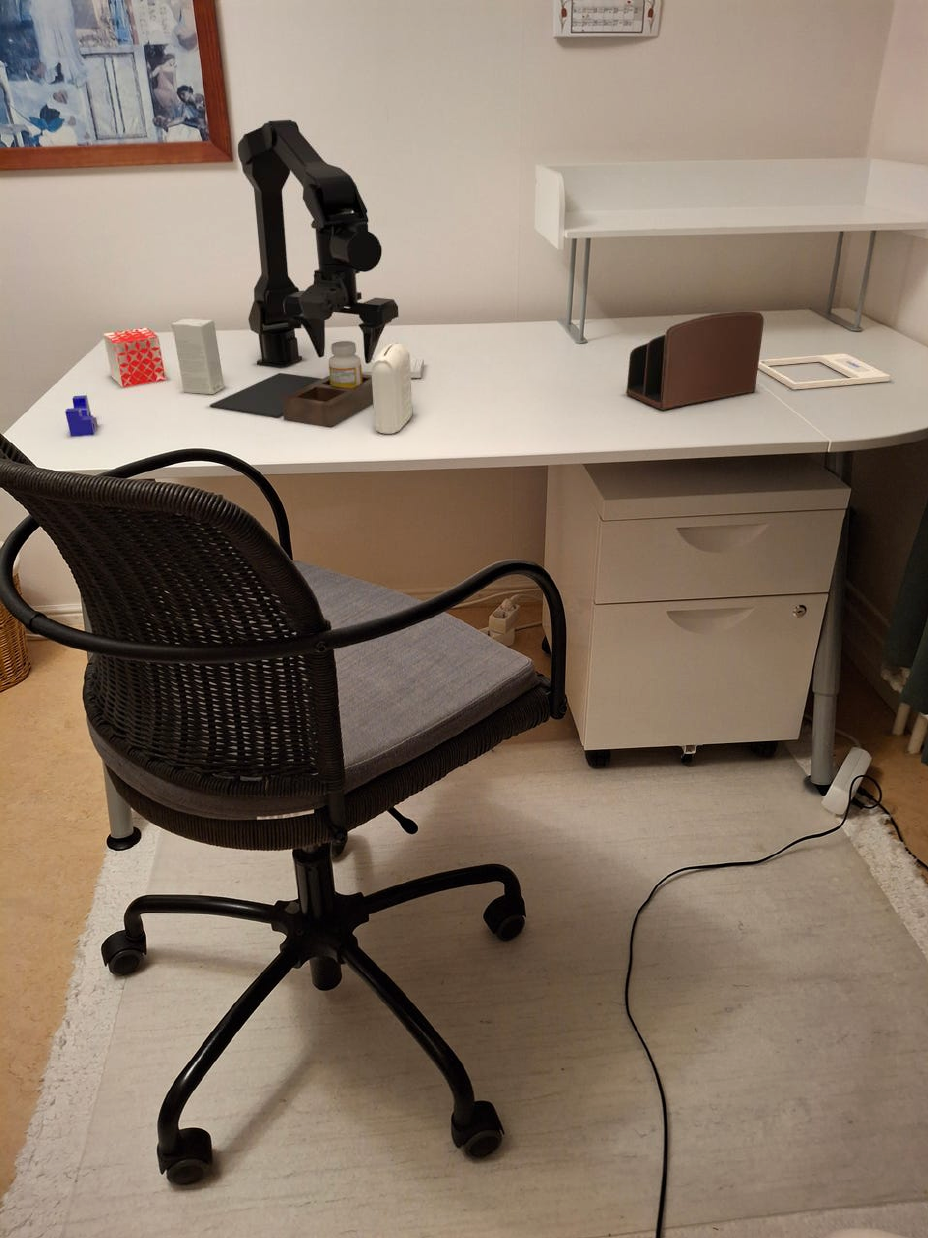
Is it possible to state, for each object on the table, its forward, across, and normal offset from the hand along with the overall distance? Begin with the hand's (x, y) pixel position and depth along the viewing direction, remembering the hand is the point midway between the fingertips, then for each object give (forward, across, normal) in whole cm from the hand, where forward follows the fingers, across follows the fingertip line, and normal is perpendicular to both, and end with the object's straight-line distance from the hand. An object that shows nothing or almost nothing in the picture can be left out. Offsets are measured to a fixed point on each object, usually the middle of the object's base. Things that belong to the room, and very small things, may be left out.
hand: (344, 359), depth 160 cm
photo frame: (+7, +70, +46) cm, 84 cm away
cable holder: (+7, -32, -28) cm, 43 cm away
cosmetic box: (+7, -27, -5) cm, 28 cm away
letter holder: (+7, +52, +26) cm, 59 cm away
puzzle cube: (+7, -43, -4) cm, 44 cm away
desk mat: (+7, -13, -2) cm, 15 cm away
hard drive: (+7, -2, +17) cm, 19 cm away
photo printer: (+7, +13, -7) cm, 16 cm away
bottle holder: (+7, 0, -4) cm, 8 cm away
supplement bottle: (+7, 0, 0) cm, 7 cm away
